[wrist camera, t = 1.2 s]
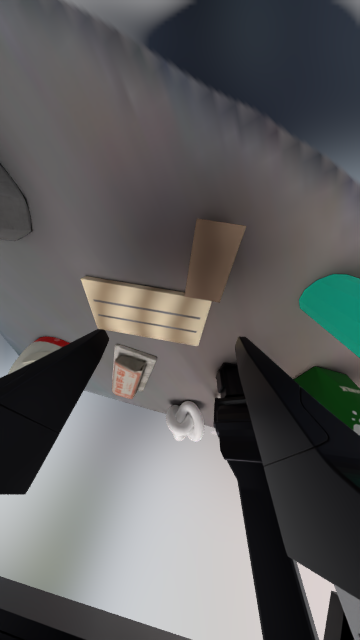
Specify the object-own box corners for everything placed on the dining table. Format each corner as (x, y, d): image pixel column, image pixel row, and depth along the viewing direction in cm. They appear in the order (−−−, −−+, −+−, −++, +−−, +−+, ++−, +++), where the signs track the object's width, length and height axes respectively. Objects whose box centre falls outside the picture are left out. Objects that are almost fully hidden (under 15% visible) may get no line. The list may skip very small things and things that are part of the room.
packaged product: (138, 403, 38) (104, 393, 37) (144, 386, 42) (113, 377, 40) (152, 373, 27) (105, 358, 26) (158, 355, 31) (117, 341, 30)
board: (211, 297, 20) (211, 300, 19) (198, 341, 26) (197, 346, 25) (86, 276, 20) (80, 278, 20) (101, 324, 26) (97, 328, 26)
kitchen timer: (88, 375, 41) (42, 437, 29) (41, 358, 38) (-31, 420, 26) (91, 350, 33) (28, 423, 21) (31, 327, 30) (-80, 396, 18)
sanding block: (232, 225, 15) (246, 226, 10) (214, 284, 19) (219, 302, 15) (197, 220, 15) (196, 218, 10) (187, 279, 19) (184, 296, 15)
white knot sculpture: (190, 394, 40) (188, 431, 33) (211, 409, 44) (214, 444, 37) (164, 400, 45) (158, 433, 38) (186, 413, 50) (183, 445, 42)
